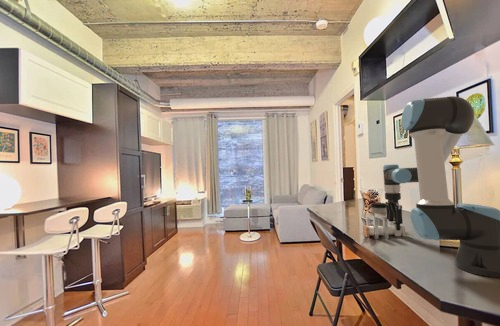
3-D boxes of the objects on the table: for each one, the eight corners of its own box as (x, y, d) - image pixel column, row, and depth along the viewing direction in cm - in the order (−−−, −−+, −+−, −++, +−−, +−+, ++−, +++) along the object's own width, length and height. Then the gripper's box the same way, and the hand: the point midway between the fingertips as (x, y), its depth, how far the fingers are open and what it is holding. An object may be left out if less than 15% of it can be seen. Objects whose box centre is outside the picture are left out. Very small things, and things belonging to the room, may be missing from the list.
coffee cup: (384, 225, 153) (382, 202, 153) (391, 229, 143) (389, 204, 144) (368, 225, 153) (367, 202, 154) (374, 229, 144) (373, 204, 144)
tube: (400, 233, 134) (399, 223, 134) (405, 236, 128) (404, 226, 128) (363, 234, 136) (362, 224, 136) (366, 237, 130) (366, 227, 130)
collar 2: (388, 238, 126) (387, 216, 126) (385, 238, 126) (384, 217, 126) (378, 232, 138) (377, 212, 138) (375, 232, 138) (374, 212, 138)
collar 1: (378, 238, 126) (377, 217, 127) (375, 238, 127) (374, 217, 127) (369, 232, 138) (368, 212, 139) (366, 232, 139) (365, 213, 139)
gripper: (408, 193, 123) (411, 239, 122) (391, 190, 140) (394, 230, 140) (393, 194, 123) (396, 239, 123) (378, 191, 141) (380, 230, 141)
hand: (395, 234), depth 131 cm, fingers closed on tube, 5 cm apart
